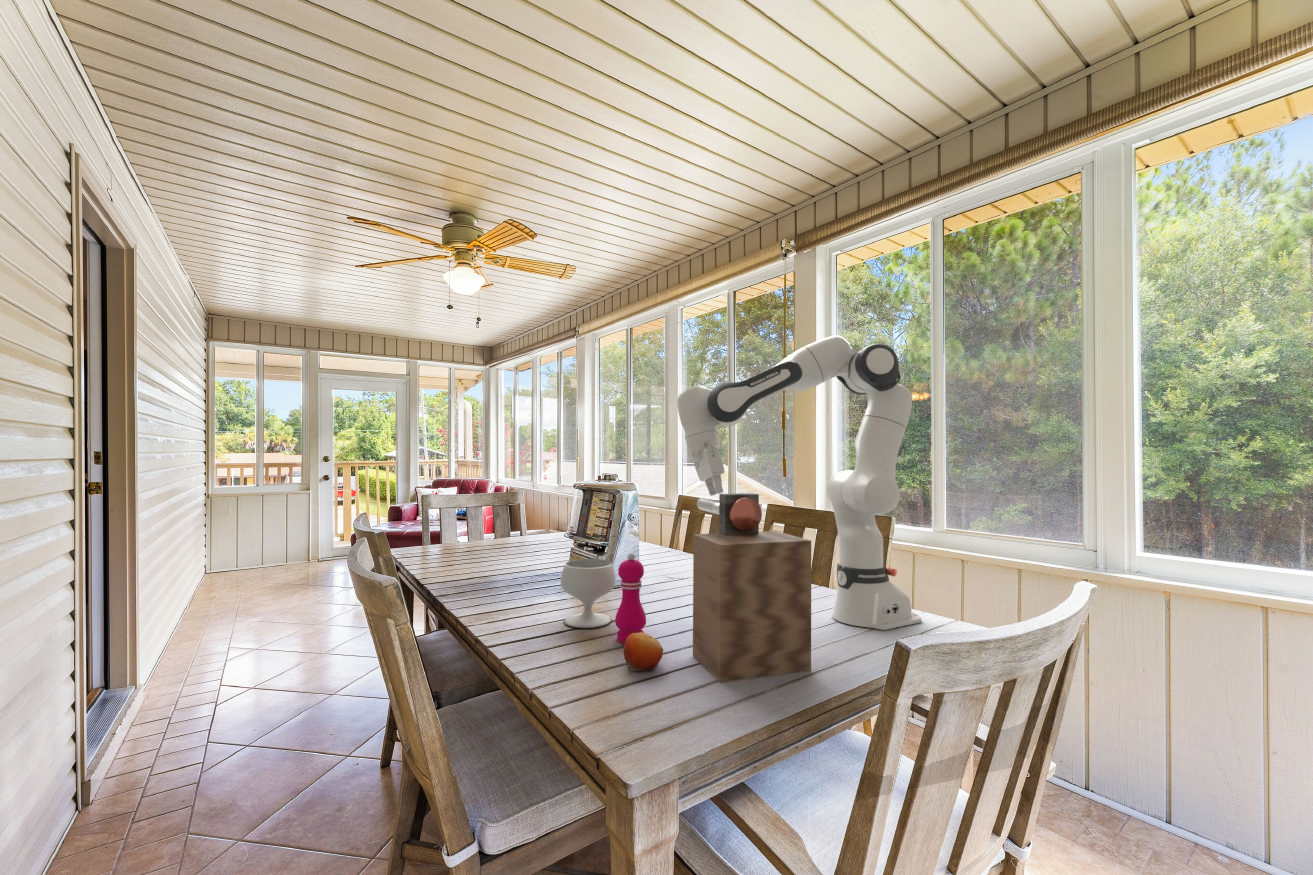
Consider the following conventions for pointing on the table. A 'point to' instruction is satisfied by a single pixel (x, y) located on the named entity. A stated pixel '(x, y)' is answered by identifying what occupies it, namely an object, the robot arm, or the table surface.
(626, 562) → the pepper mill
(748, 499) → the steel pin
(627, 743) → the table surface
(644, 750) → the table surface
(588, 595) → the chalice
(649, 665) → the fruit
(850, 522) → the robot arm
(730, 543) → the walnut post
